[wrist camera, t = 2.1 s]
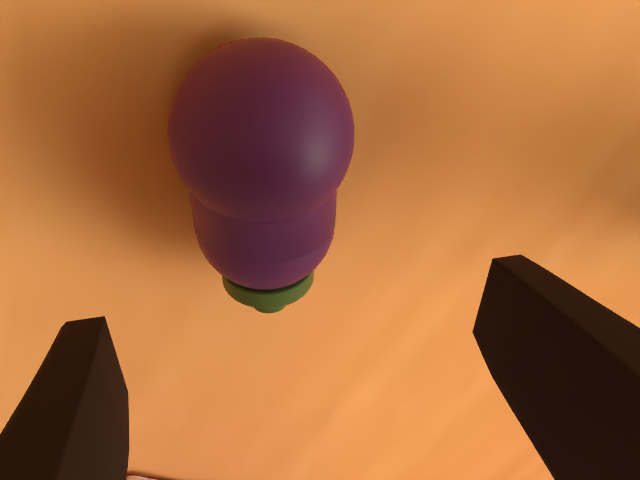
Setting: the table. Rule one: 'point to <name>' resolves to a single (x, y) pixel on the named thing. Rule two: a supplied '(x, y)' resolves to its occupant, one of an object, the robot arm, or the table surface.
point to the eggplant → (262, 164)
